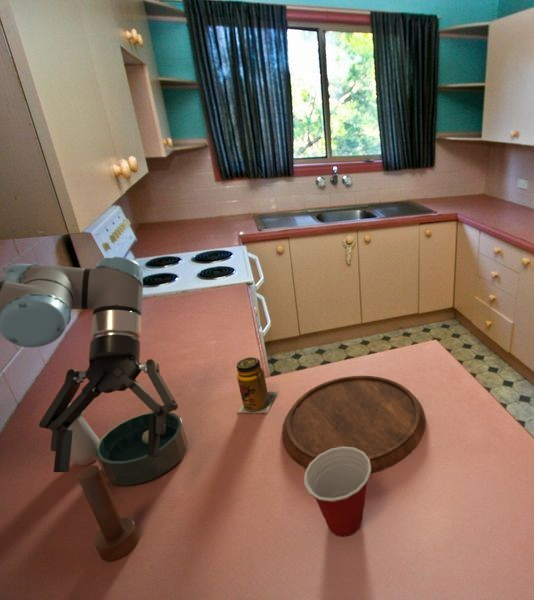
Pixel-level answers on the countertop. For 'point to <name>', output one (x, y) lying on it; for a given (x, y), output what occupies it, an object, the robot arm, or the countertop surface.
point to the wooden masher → (107, 517)
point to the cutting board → (355, 421)
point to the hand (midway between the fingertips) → (108, 464)
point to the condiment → (253, 387)
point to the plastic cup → (340, 487)
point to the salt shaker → (83, 442)
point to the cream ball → (145, 437)
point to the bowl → (139, 450)
